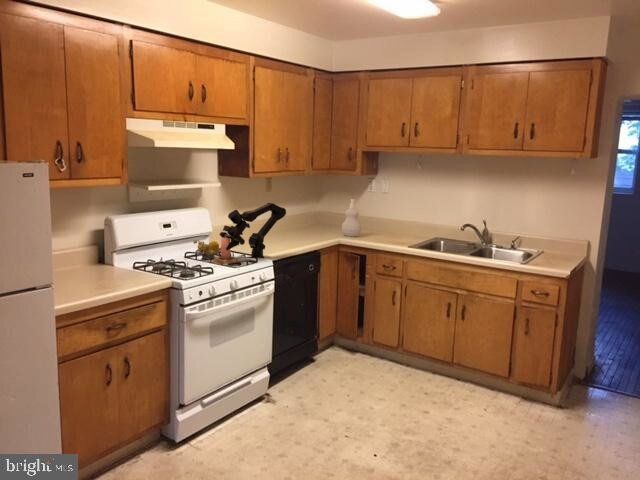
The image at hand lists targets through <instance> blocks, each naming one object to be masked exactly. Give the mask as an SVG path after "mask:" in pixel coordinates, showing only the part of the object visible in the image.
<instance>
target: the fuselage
mask: <svg viewBox="0 0 640 480" xmlns="http://www.w3.org/2000/svg"><path fill="white" fill-rule="evenodd" d="M220 239H221V241H220V250H221V252H220V254H221V256H220V257H221V260H230V257H231V249H229V250H226V248H227V246H228V245H229V243H230V242H231V239H230V238H226V237H225V238H222V237H221V238H220Z"/></svg>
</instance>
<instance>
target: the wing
mask: <svg viewBox="0 0 640 480" xmlns="http://www.w3.org/2000/svg"><path fill="white" fill-rule="evenodd" d="M247 260H250V257H249V258H248V257H243V258H241V259H237V262H236V263H240V262H239V261H244V262H248V261H247Z"/></svg>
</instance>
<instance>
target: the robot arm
mask: <svg viewBox="0 0 640 480" xmlns="http://www.w3.org/2000/svg"><path fill="white" fill-rule="evenodd" d="M268 212H271V214H270V217H269V218H268V220H267V221H266V222H265V223H264V225H262V227H261V228H260V229H259V231H258V232H253V233H252V234H251V235H250V236H249V238H248V245H249V248H250V249H251V251H250V252H251V256H250V257H251V258H263V257H264V250H266V244H264V241H265V237H266V235H267V234H268V233H269V232H270V231H271V229H272V228H273V227H274V225H275V224H277V222H278V221H280V220H282V219H283V218H284V217H285V216H286V215H287V209H286V208H284V207H281V206H279V205H277V204H275V203H274V202H267V203H266V204H264V205H261V206H260V207H258V208H255V209H251V210H246V211H244V212H242V213H240V212H239V211H238V209H234V210H232V211H231V212H229V213H228V216H227V217H228V219H229V220H230V221H231V222H232V224H234V225H235V226H234V225H230V226H229V225H224V226H223V229H222V231H220V233H219V236H220V237H221V238H225V237H226V238H230V243H229V245H228V246H227V248H226V250H229V249H230V250H231V249H233V248H236V247H237V246H240V245H242V246H243V245H245V243H246V242H245V241H246V240H245V239H244V238H243V237H242V236H243V235H244V231H245V230H246V228H247V229H250V228H251V225H250V223H252V222H254V221H255V220H257V218H258V217H259V216H261V215H263V214H266V213H268Z"/></svg>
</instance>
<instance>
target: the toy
mask: <svg viewBox="0 0 640 480" xmlns="http://www.w3.org/2000/svg"><path fill="white" fill-rule="evenodd" d="M193 244H194V245H196V244H198V245H197V250H198V252H200V253H201V252H202V253H203V254H204V255H214V254H219V253H221V249H220V245H219V243H218V242H217V241H210V242H209V243H207V244H206V243H205V241H201V240H199V239H194V240H193Z"/></svg>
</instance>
